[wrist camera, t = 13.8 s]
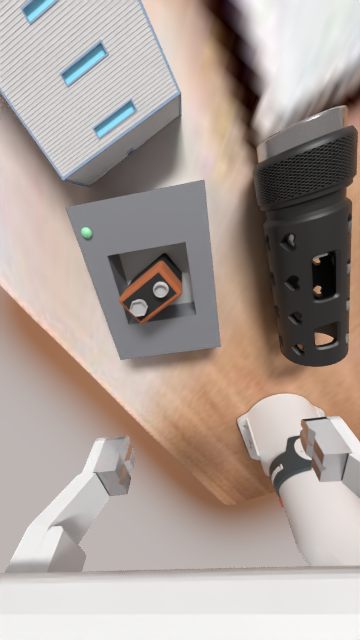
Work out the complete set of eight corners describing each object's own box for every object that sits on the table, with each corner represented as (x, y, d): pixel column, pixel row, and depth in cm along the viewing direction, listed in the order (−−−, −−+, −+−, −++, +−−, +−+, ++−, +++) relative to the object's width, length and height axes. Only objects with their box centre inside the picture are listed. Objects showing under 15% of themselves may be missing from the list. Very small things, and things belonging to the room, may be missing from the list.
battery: (132, 279, 34) (113, 304, 25) (165, 250, 32) (158, 267, 23) (150, 299, 35) (140, 330, 26) (183, 273, 33) (183, 297, 24)
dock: (215, 327, 39) (221, 347, 33) (129, 339, 40) (120, 361, 34) (200, 185, 29) (204, 179, 23) (86, 207, 30) (64, 207, 25)
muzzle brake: (268, 336, 40) (294, 375, 30) (238, 158, 28) (266, 132, 18) (323, 322, 38) (367, 358, 29) (316, 127, 26) (389, 83, 17)
